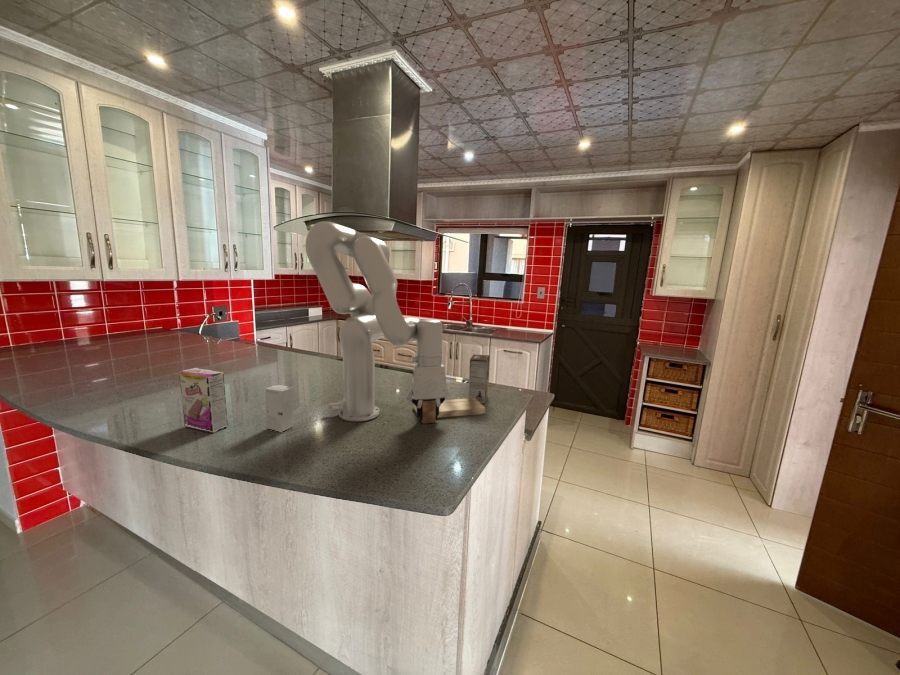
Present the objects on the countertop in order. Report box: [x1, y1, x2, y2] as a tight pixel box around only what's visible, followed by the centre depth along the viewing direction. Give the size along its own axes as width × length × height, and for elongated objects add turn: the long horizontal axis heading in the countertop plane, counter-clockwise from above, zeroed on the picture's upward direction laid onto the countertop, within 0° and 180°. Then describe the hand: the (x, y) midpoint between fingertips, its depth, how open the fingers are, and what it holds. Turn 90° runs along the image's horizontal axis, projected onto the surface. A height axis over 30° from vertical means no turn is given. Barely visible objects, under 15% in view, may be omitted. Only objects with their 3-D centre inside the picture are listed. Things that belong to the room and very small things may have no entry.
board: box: [413, 397, 486, 419], centre depth 116 cm, size 22×10×2 cm, turn 107°
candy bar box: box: [178, 367, 229, 431], centre depth 96 cm, size 11×5×16 cm, turn 71°
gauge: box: [420, 399, 436, 424], centre depth 110 cm, size 4×12×8 cm, turn 16°
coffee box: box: [467, 354, 490, 404], centre depth 127 cm, size 9×6×16 cm
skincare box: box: [265, 384, 294, 431], centre depth 97 cm, size 6×4×12 cm
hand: (427, 417), depth 106 cm, fingers closed on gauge, 4 cm apart
